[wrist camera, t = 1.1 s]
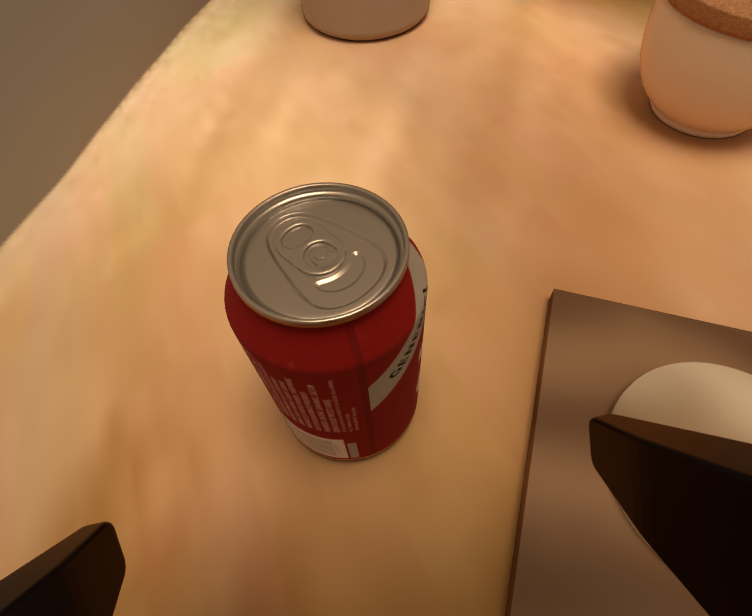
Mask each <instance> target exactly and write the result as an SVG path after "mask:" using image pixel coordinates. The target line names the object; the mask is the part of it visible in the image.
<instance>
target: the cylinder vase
mask: <svg viewBox="0 0 752 616" xmlns="http://www.w3.org/2000/svg"><path fill="white" fill-rule="evenodd" d="M301 3H302V9H303V13H304V15H305V17H306V19H307V20H308V22H309V23H310V24H311V25H312V26H313V27H314V28H316V29H317V30H319V31H321V32H323V33H325V34H327V35H330V36H333V37H337V38H341V39H348V40H374V39H381V38H386V37H390V36H394V35H397V34H400V33H402V32H404V31H406V30H408V29H410V28H412V27H413V26H415V25H416V24H417V23H418V22H420V21H421V19H422V18H423V17H424V16H425V14H426V13H427V11H428V8H429V4H430V0H301Z"/></svg>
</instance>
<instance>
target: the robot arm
mask: <svg viewBox="0 0 752 616" xmlns="http://www.w3.org/2000/svg"><path fill="white" fill-rule="evenodd" d="M589 438H590V452H591V459H592V463H593V465H594V468H595V469H596V471H597V472H598V474H599V475H600V477H601V478H602V480H603V481H604V483H605V484H606V485H607V487H608V488H609V490H610V491H611V493H612V494H613V496H614V497H615V498H616V500H617V501H618V503H619V504H620V506H621V507H622V508H623V510H624V511H625V513H626V514H627V516H628V517H629V519H630V520H631V521H632V523H633V524H634V526H635V527H636V528H637V530H638V531H639V533H640V534H641V535H642V537H643V538H644V539H645V540H646V542H647V543H648V544H649V545H650V546H651V548H652V549H653V550H654V551H655V552H656V554H657V555H658V556H659V557H660V558H661V560H662V561H663V562H664V563H665V564H666V565H667V567H668V568H669V569H670V570H671V571H672V572H673V574H674V575H675V576H676V577H677V578H678V580H679V581H680V582H681V583H682V584H683V585H684V587H685V588H686V589H687V590H688V591H689V592H690V594H691V595H692V596H693V597H694V598H695V600H696V601H697V602H698V603H699V604H700V605H701V607H702V608H703V609H704V610H705V611H706V612H707V614H708V615H709V616H752V444H751V443H747V442H742V441H737V440H733V439H728V438H723V437H719V436H714V435H709V434H705V433H700V432H696V431H691V430H686V429H682V428H677V427H672V426H668V425H663V424H658V423H654V422H649V421H644V420H640V419H635V418H630V417H626V416H621V415H616V414H605V415H600V416H596V417H593V418H591V420H590V421H589ZM125 569H126V564H125V559H124V555H123V552H122V549H121V546H120V543H119V540H118V537H117V534H116V531H115V529H114V526H113V525H112V524H111V523H109V522H100V523H96V524H91V525H87V526H84V527H82V528H81V529H79V530H77V531H76V532H74V533H73V534H71V535H70V536H68V537H67V538H65V539H64V540H62V541H61V542H59V543H57V544H56V545H54V546H53V547H51V548H50V549H48V550H47V551H45V552H44V553H42V554H41V555H39V556H37V557H36V558H34V559H33V560H31V561H30V562H28V563H27V564H25V565H24V566H22V567H20V568H19V569H17V570H16V571H14V572H13V573H11V574H10V575H8V576H7V577H5V578H4V579H2V580H0V616H113V613H114V610H115V606H116V603H117V600H118V596H119V593H120V589H121V586H122V583H123V579H124V576H125Z"/></svg>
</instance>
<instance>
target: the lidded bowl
mask: <svg viewBox="0 0 752 616" xmlns="http://www.w3.org/2000/svg"><path fill="white" fill-rule="evenodd" d="M640 75H641V80H642V84H643V86H644V89H645V91H646V94H647V96H648V97H649V99H650V107H651V109H652V111H653V113H654V114H655V115H656V117H657V118H658V119H659V120H661V121H662V122H663V123H665V124H666V125H668V126H669V127H671V128H673V129H675V130H677V131H680V132H682V133H685V134H689V135H692V136H697V137H702V138H717V139H718V138H728V137H733V136H736V135H738V134H740V133H742V132H744V131H745V130H749V129H752V0H654V3H653V6H652V8H651V11H650V14H649V17H648V20H647V24H646V27H645V31H644V35H643V39H642V45H641V50H640Z"/></svg>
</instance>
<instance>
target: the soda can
mask: <svg viewBox="0 0 752 616" xmlns="http://www.w3.org/2000/svg"><path fill="white" fill-rule="evenodd" d="M227 267H228V276H227V280H226V285H225V296H224V300H225V309H226V314H227V318H228V320H229V323H230V326H231V328H232V330H233V331H234V333H235V335H236V337H237V339H238V340H239V342H240V344H241V345H242V347H243V349H244V350H245V352H246V354H247V356H248V357H249V359H250V361H251V362H252V364H253V366H254V367H255V369H256V371H257V373H258V374H259V376H260V378H261V379H262V381H263V383H264V384H265V386H266V388H267V390H268V391H269V393H270V395H271V396H272V398H273V400H274V401H275V403H276V405H277V407H278V408H279V410H280V412H281V413H282V415H283V417H284V418H285V420H286V422H287V424H288V425H289V427H290V429H291V430H292V432H293V433H294V435H295V436H296V437H297V438H298V440H299V441H300V442H301V443H303V444H304V445H305V446H306V447H307V448H309V449H310V450H312V451H314V452H315V453H317V454H320V455H322V456H325V457H328V458H332V459H337V460H357V459H363V458H367V457H370V456H373V455H375V454H378V453H380V452H382V451H383V450H385V449H387V448H388V447H390V446H391V445H392V444H393V443H395V442H396V441H397V440H398V439H399V438H400V437H401V435H402V434H403V433H404V432H405V430H406V429H407V427H408V426H409V424H410V422H411V420H412V418H413V415H414V412H415V409H416V404H417V396H418V385H419V374H420V363H421V352H422V342H423V331H424V320H425V309H426V298H427V287H428V286H427V273H426V268H425V264H424V261H423V259H422V256H421V254H420V252H419V250H418V248H417V247H416V245H415V244H414V242H413V241H412V240H411V239H410V237H409V236H408V232H407V229H406V226H405V224H404V222H403V220H402V218H401V216H400V215H399V214H398V212H397V211H396V210H395V209H394V208H393V206H391V205H390V204H389V203H388V202H387V201H386V200H384V199H383V198H381V197H380V196H378V195H376V194H375V193H373V192H371V191H368V190H366V189H363V188H360V187H357V186H353V185H349V184H342V183H331V182H329V183H312V184H305V185H301V186H297V187H293V188H290V189H287V190H284V191H282V192H279V193H277V194H275V195H273V196H271V197H269V198H268V199H266V200H264V201H263V202H261V203H260V204H259V205H257V206H256V207H255V208H254V209H252V210H251V211H250V212H249V213H248V214H247V215H246V216H245V217H244V218H243V220H242V221H241V222H240V223H239V225H238V226H237V228H236V230H235V231H234V233H233V235H232V238H231V240H230V243H229V247H228V252H227Z"/></svg>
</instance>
